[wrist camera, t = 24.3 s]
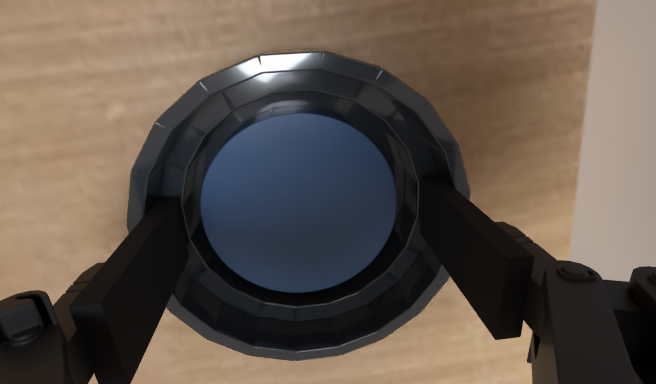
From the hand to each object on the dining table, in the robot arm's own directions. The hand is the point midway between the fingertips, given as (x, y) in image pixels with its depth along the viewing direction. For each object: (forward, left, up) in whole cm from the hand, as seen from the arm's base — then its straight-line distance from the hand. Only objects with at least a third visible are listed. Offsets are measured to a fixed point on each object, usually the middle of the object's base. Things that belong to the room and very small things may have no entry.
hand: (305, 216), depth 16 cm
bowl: (0, 0, -3) cm, 3 cm away
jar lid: (0, 0, -1) cm, 1 cm away
